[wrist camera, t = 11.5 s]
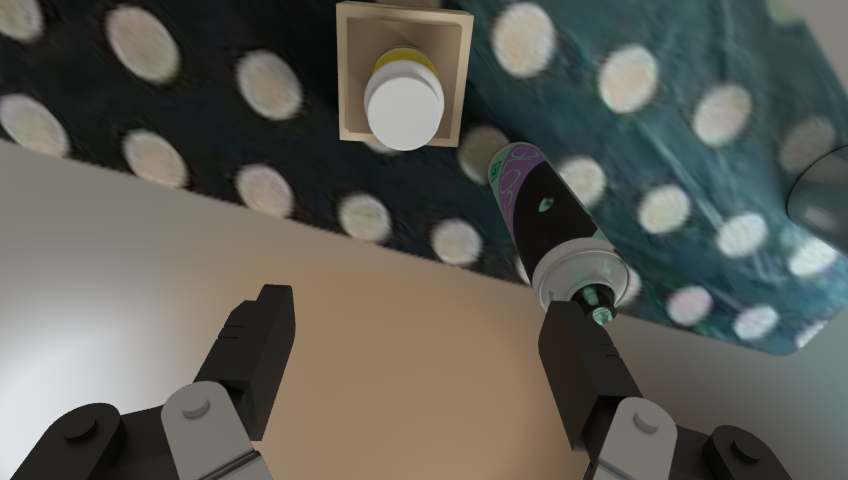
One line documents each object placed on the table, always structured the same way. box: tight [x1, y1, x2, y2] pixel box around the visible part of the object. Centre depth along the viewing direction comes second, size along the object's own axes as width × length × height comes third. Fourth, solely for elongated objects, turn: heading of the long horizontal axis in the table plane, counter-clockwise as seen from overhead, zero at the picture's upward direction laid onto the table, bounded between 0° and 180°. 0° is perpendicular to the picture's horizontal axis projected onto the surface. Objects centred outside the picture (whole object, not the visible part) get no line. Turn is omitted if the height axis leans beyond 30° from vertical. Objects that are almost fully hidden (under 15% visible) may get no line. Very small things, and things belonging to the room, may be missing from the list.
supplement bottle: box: [364, 46, 444, 150], centre depth 26 cm, size 5×5×8 cm
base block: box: [336, 1, 474, 147], centre depth 32 cm, size 9×9×5 cm
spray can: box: [488, 142, 631, 325], centre depth 31 cm, size 6×6×20 cm
